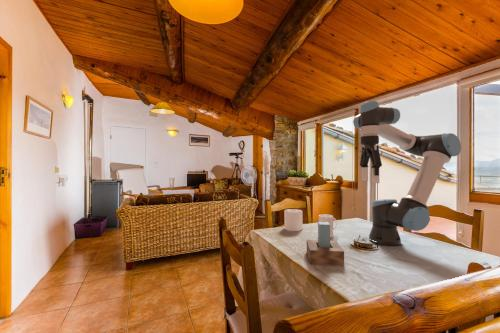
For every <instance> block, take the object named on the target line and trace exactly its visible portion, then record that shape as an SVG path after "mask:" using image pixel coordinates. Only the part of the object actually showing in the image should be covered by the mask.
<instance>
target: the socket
mask: <svg viewBox="0 0 500 333" xmlns="http://www.w3.org/2000/svg"><path fill="white" fill-rule="evenodd" d="M306 253H307V258H308V261H309V264H310V265H323V266H325V265H326V266H345V250H344V249H343V248H342V247H341V245H340V244H339V242H338V241H337V240H331V239H330V248H320V247H318V239H306Z"/></svg>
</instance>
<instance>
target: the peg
mask: <svg viewBox="0 0 500 333" xmlns="http://www.w3.org/2000/svg"><path fill="white" fill-rule="evenodd" d="M317 240H318V247H320V248H330V240H331V238H330V224H329V223H328V222H319V221H317Z"/></svg>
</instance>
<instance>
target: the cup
mask: <svg viewBox="0 0 500 333" xmlns="http://www.w3.org/2000/svg"><path fill="white" fill-rule="evenodd" d="M283 213H284V216H283V217H284V219H283V220H284V230H286V231H288V232H301V231H302V230H303V227H304V226H303V222H304V221H303V210H302V209H297V208H287V209H284V212H283ZM300 230H301V231H300Z"/></svg>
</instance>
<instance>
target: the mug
mask: <svg viewBox="0 0 500 333" xmlns="http://www.w3.org/2000/svg"><path fill="white" fill-rule="evenodd" d="M334 221H335V225H334ZM318 222H328V223H329V224H330V239H331V238H334V230H335V229H336V227H337V219H336V218H335V217H334V215H332V214H327V213H326V214H325V213H322V214H319V215H318Z"/></svg>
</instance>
